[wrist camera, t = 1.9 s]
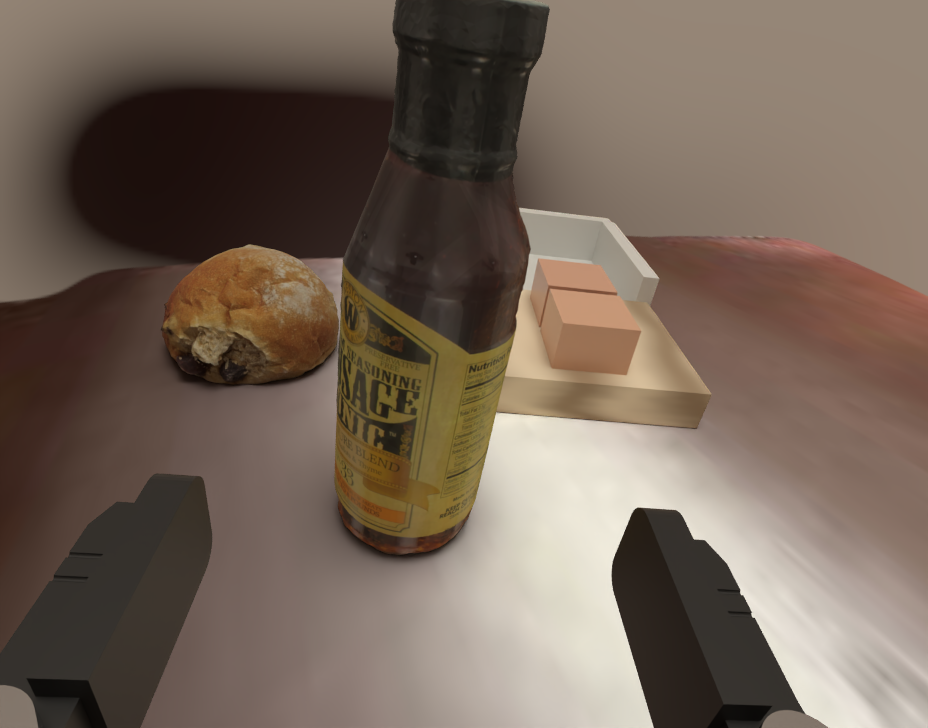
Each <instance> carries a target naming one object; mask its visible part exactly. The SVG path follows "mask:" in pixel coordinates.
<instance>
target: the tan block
mask: <svg viewBox="0 0 928 728" xmlns="http://www.w3.org/2000/svg"><path fill="white" fill-rule="evenodd" d="M540 332H541V335H542V339H543V342H544V345H545V348H546V352H547V355H548V358H549V361H550V365H551V368H552V369H563V370H573V371H584V372H595V373H606V374H617V375H627V372H628V369H629V366H630V363H631V360H632V357H633V355H634V352H635V349H636V346H637V343H638V340H639V337H640V334H641V329H640V328H639V326H638V324H637V323H636V321H635V320H634V318H633V316H632V315H631V313H630V312H629V310H628V308H627V307H626V305H625V303H624V302H623V300H622V299H621V297H620V296H615V295H605V294H596V293H586V292H577V291H567V290H558V289H550V290H549V294H548V299H547V303H546V308H545V312H544V316H543V321H542V325H541V329H540Z"/></svg>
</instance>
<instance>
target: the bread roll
mask: <svg viewBox="0 0 928 728" xmlns="http://www.w3.org/2000/svg"><path fill="white" fill-rule="evenodd" d="M164 305H165V316H164V322H163V326H162V328H161V330H162V336H163V338H164V340H165V344H166V346H167V348H168V350H169V352H170V356H171V357H173V358H174V360H175V361H176V362H177V363H178V365H179V366H180V368H181V369H182V370H183V371H185V372H186V373H188V374H194V375H196V376H199V377H202V378H204V379H206V380H207V381H210V382H214V383H227V384H232V385H234V384H261V383H266V382H270V381H274V380H280V379H289V378H294V377H298V376H302V375H303V373H304V372H306V371H308V370H311V369H312V368H314V367H315V366H317V365H319V364H321V363H323V362H324V360H325V359H326V358H327V356H328V355H330V354H331V352H332V351H333V350H334V348H335V346H336V345H337V336H338V329H339V319H338V316H337V308H336V304H335V302H334V298H333V294H332V293H331V292H329V291H328V289H327V288H326V287H325V285H324V284H323V282H322V281H321V280H320V279H319V277H318V276H317V275H316V274H315V273H314V272H313V271H312V270H311V269H310V268H309V267H307V266H306V265H304V264H303V262H301V261H300V260H298V259H296V258H295V257H292V256H290V255H289V254H286V253H284V252H280V251H277V250H273V249H269V248H262V247H260V246H255V245H250V244H249V245H247V246H244V247H242V248H235V249H231V250H228V251H226V252H223V253H221V254H218V255H216V256H214V257H212V258H210V259H208V260H207V261H205V262H203V263H202V264H200V265H199V266H197V267H196V268H195V269H194V270H193V271H192V272H191V273H190V274H188V275H187V276H186V277H184V278H183V280H182V281H181V282H180V283H179V284H178V285H177V286H176V288H175V289H174V291H173V292H172V294H171V295H170V297H169V300H168V302H167V303H165V304H164Z"/></svg>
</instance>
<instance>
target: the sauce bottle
mask: <svg viewBox="0 0 928 728" xmlns="http://www.w3.org/2000/svg"><path fill="white" fill-rule="evenodd" d="M395 4H396V6H395V10H394V20H393V33H394V36H395V42H396V44H397V46H398V50H399V56H398V66H397V69H398V70H397V78H396V88H395V104H394V111H393V122H392V124H393V125H392V128H391V130H390V134H389V138H388V140H389V145H390V146H389V149H388V151H387V154H386V156H385V159H384V161H383V164H382V166H381V169H380V171H379V174H378V176H377V179H376V181H375V184H374V186H373V189H372V191H371V194H370V196H369V198H368V201H367V203H366V206H365V208H364V210H363V213H362V215H361V218H360V220H359V222H358V225H357V227H356V230H355V232H354V235H353V237H352V239H351V242H350V244H349V247H348V249H347V252H346V254H345V256H344V259H343V270H342V283H341V287H342V297H341V304H340V305H341V321H340V340H339V349H338V354H339V357H338V388H337V424H336V448H335V488H336V492H337V495H338V498H339V502H338V509H339V511H340V514H341V516H342V518H343V522H344V525H345V526H346V527H347V528H348V529H349V530H350V531H351V532H352V533H353V534H354V535H355V536H357V537H358V538H359V539H360V540H362V541H364V542H365V543H366V544H369V545H371V546H373V547H374V548H376V549H377V550H379V551H382V552H384V553H387V554H396V555H402V554H407V553H420V552H428V551H431V550H434V549H436V548H439V547H441V546H442V545H444V544H445V543H447V542H448V541H449V540H450V539H452V538H453V537H454V536H455V535H456V534H457V533H458V532H459V531H460V529H461V528H462V526H463V524H464V523H465V521H466V520H467V519H468V517H469V514H470V512H471V509H472V506H473V504H474V502H475V499H476V495H477V491H478V487H479V482H480V478H481V474H482V470H483V466H484V462H485V458H486V454H487V450H488V445H489V440H490V436H491V432H492V428H493V423H494V419H495V415H496V411H497V407H498V402H499V398H500V394H501V390H502V386H503V381H504V377H505V373H506V369H507V365H508V360H509V356H510V352H511V349H512V345H513V340H514V336H515V331H516V327H517V320H516V314H517V311H518V306H519V299H520V295H521V292H522V290H523V285H524V283H525V279H526V273H527V268H528V260H529V254H530V251H531V247H530V243H529V237H528V234H527V230H526V227H525V225H524V222H523V219H522V217H521V215H520V209H519V207H518V205H517V203H516V196H515V192H514V185H513V173H512V171H513V166H514V163H515V161H516V159H517V150H516V142H517V137H518V132H519V126H520V120H521V117H522V111H523V106H524V105H523V104H524V100H525V95H526V90H527V85H528V79H529V75H530V72H531V70H532V69H533V67H534V66H535V64H536V62H537V61H538V59H539V58H540V56H541V54H542V48H543V44H544V39H545V33H546V26H547V20H548V15H549V10H550V9H549V6H548V5H546V4H545V3H541V2H538V1H534V0H396V3H395Z"/></svg>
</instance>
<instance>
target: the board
mask: <svg viewBox="0 0 928 728" xmlns="http://www.w3.org/2000/svg"><path fill="white" fill-rule="evenodd" d="M530 294H531V290H522V292H521V295H520V299H519V306H518V311H517V314H516V320H517V327H516V331H515V336H514V340H513V345H512V349H511V352H510V356H509V360H508V365H507V369H506V373H505V377H504V381H503V386H502V390H501V394H500V398H499V402H498V407H497V411H496V412H506V413H518V414H530V415H542V416H554V417H566V418H578V419H590V420H602V421H614V422H626V423H638V424H650V425H662V426H674V427H686V428H697V427H698V424H699V422H700V420H701V418H702V415H703V413H704V411H705V409H706V406H707V404H708V402H709V400H710V397H711V395H712V394H711V393H710V391H709V390H708V388H707V387H706V386H705V384H704V383H703V381H702V380H701V378H700V377H699V376H698V374H697V373H696V371H695V370H694V368H693V367H692V366H691V364H690V363H689V361H688V360H687V358H686V357H685V356H684V354H683V353H682V351H681V350H680V348H679V347H678V346H677V344H676V343H675V341H674V340H673V338H672V337H671V336H670V334H669V333H668V331H667V330H666V328H665V327H664V326H663V324H662V323H661V321H660V320H659V318H658V317H657V316H656V314H655V313H654V311H653V310H652V308H651V307H650V306H649V304H648V303H647V302H637V301H628V300H623V302H624V303H625V305H626V307H627V308H628V310H629V312H630V313H631V315H632V316H633V318H634V320H635V321H636V323H637V324H638V326H639V328H640V329H641V334H640V337H639V340H638V343H637V346H636V349H635V352H634V355H633V357H632V360H631V363H630V366H629V369H628V372H627V375H617V374H606V373H595V372H584V371H573V370H563V369H552V368H551V365H550V361H549V358H548V355H547V352H546V348H545V345H544V342H543V339H542V335H541V332H540V329H541V327H539V325H538V322H537V319H536V316H535V312H534V309H533V306H532V303H531V299H530Z"/></svg>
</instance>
